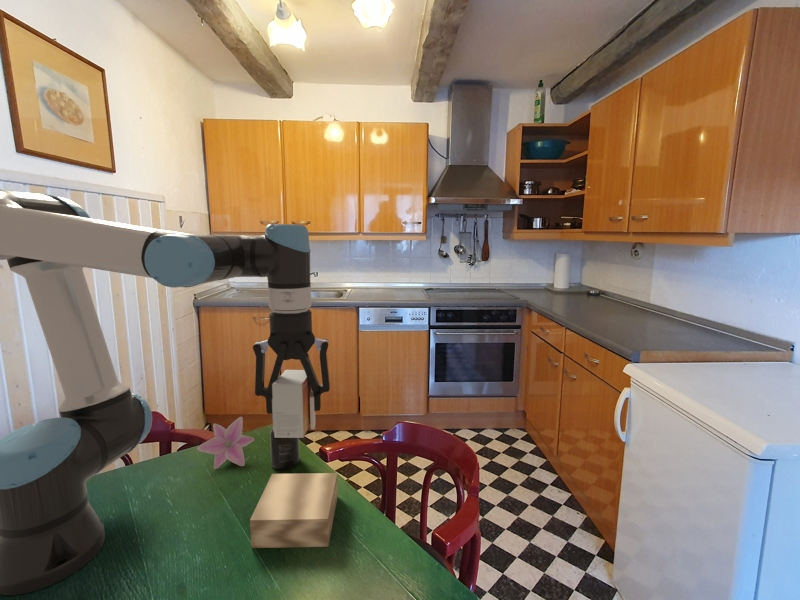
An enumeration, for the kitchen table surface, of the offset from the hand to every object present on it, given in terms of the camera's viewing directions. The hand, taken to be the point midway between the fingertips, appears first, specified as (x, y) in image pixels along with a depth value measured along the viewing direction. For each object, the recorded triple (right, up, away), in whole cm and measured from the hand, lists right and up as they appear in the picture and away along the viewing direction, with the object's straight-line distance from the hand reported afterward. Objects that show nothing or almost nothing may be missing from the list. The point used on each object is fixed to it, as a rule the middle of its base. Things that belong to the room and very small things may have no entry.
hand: (294, 427), depth 75 cm
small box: (0, 0, 0) cm, 1 cm away
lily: (-23, -16, +24) cm, 37 cm away
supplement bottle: (-9, -17, +23) cm, 30 cm away
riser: (0, -20, +3) cm, 20 cm away
